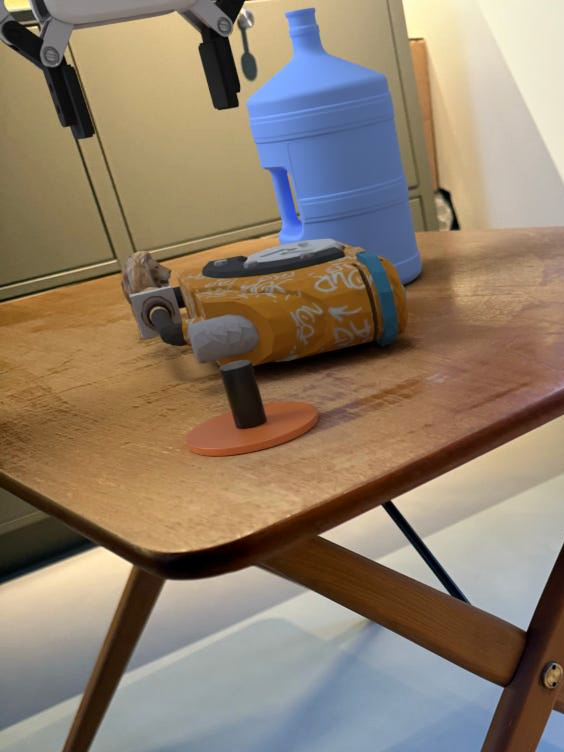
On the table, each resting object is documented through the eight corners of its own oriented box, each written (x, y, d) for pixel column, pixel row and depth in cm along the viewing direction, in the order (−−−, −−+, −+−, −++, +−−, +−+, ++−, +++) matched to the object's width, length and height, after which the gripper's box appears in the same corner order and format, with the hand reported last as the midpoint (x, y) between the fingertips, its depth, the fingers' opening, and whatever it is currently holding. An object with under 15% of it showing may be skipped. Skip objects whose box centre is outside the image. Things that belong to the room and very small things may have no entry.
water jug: (435, 263, 127) (390, -4, 113) (406, 294, 114) (349, -4, 100) (315, 279, 130) (256, 22, 116) (273, 311, 117) (201, 25, 103)
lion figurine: (191, 333, 114) (166, 247, 109) (143, 345, 112) (115, 259, 108) (170, 313, 126) (146, 235, 121) (126, 324, 124) (100, 245, 120)
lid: (182, 466, 74) (160, 397, 72) (193, 425, 83) (173, 361, 80) (320, 438, 75) (303, 368, 72) (316, 399, 83) (301, 336, 81)
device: (140, 312, 83) (118, 266, 108) (172, 412, 87) (144, 345, 112) (407, 250, 88) (327, 219, 113) (425, 347, 92) (344, 297, 117)
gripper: (185, -202, 65) (259, 101, 74) (-106, -179, 59) (13, 151, 67) (225, -238, 59) (301, 95, 68) (-92, -218, 53) (36, 149, 61)
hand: (158, 122), depth 67 cm, fingers open, 9 cm apart
